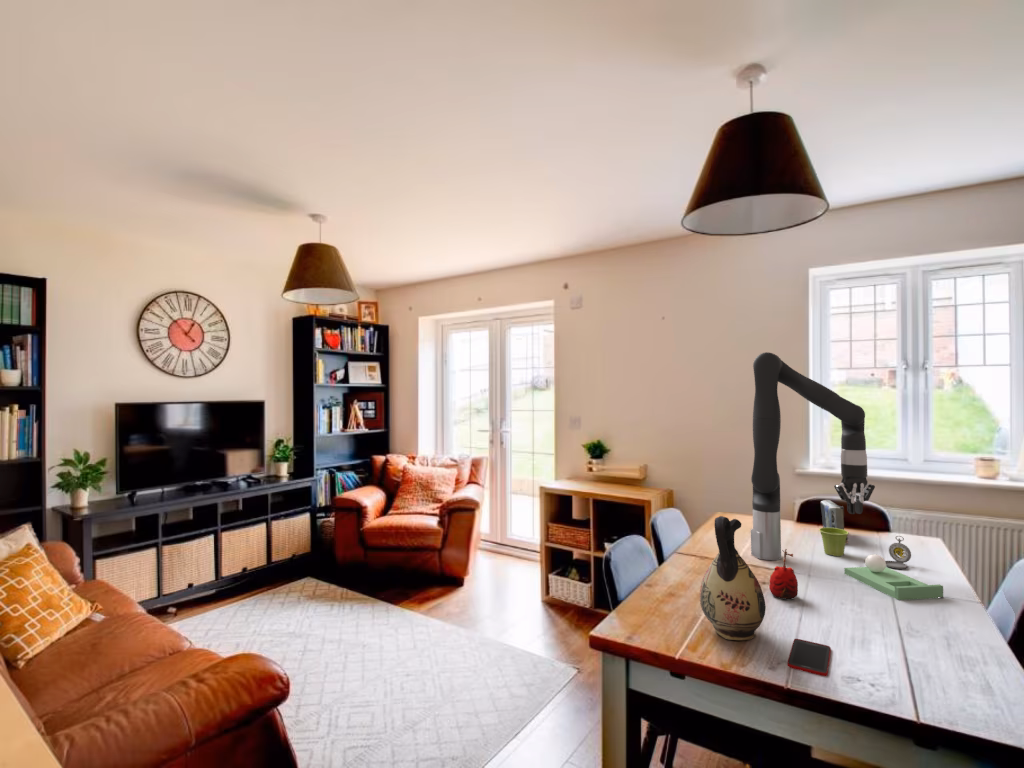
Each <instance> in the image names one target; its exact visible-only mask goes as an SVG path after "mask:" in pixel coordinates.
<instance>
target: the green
mask: <svg viewBox="0 0 1024 768" xmlns="http://www.w3.org/2000/svg"><path fill="white" fill-rule="evenodd" d="M843 574H844V575H845V576H849V577H850V578H852V579H854V580H857V581H859V582H861V583H863V584H864V585H866V586H869V587H871V588H873V589H875V590H877V591H879V592H881V593H883V594H885V595H887V596H889V597H891V598H893V599H896V600H898V601H901V600H902V601H906V600H907V601H909V600H910V601H911V600H926V599H927V600H930V599H929V598H932V599H939V598H938V597H943V598H944V585H942V584H928V583H925V582H923V581H920V580H919V579H916V578H914V577H911V576H908V575H906V574H904V573H901V572H899V571H896V570H894V569H893V568H891V567H888V566H886V568H885V570H884V571H882V572H879V573H876V572H872V571H871V570H869V569H868V568H867V566H856V567H854V566H852V567H844V573H843Z"/></svg>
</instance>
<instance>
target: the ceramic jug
mask: <svg viewBox="0 0 1024 768" xmlns="http://www.w3.org/2000/svg"><path fill="white" fill-rule="evenodd" d="M741 527H742V522H741V521H740V520H739V519H736V518H733V519H731V520H730V519H729V518H728V517H725V516H723V515H722V516H721V515H720V516H718V517H715V519H714V535H715V539H716V544H717V548H718V552H717V554H716V556H715V557H714V558H713V560H712V561H711V563H710V565H708V566H709V567H708V568H707V570H706V571H705V573H704V575H703V578H702V580H701V584H700V588H699V589H700V590H699V602H700V603H699V605H700V606H701V611H702V613H703V615H705V618H706V619H707V620H708V621H709V622H710V623H711V625H712V626H713V629H714V630H715V633H716V634H717V635H719V637H721V638H723V639H725V640H729V641H730V640H731V641H750V640H753V639H754V637H755V636H756V634H755V631H756V630H757V629H759V627H760V626H761V625H762V623H763V621H764V618H765V615H766V607H767V606H766V601H765V597H764V596H765V595H764V592H763V590H762V587H761V585H760V582H759V581H758V578H757V577H756V575H755V573H754V572H753V571H752V569H751V568H750V566H749V565H748V564H747V563H746V561H745V560H744V558H743V557H742V556H741V555H740V554H739V551H738V550H737V549H736V547H735V533H736V531H737V530H739V529H740V528H741ZM728 649H729V648H728Z"/></svg>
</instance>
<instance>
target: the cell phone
mask: <svg viewBox="0 0 1024 768" xmlns="http://www.w3.org/2000/svg"><path fill="white" fill-rule="evenodd" d="M831 651H832V648H831V647H830V646H829V645H826V644H823V643H819V642H818V643H817V642H813V641H809V640H804V639H799V638H794V640H793V642H792V646H791V649H790V652H789V656H788V659H787V667H788V668H790V669H793V670H797V671H802V672H805V673H809V674H813V675H816V676H821V677H827V676H828V673H829V667H830V661H831V660H830V659H831Z"/></svg>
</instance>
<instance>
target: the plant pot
mask: <svg viewBox="0 0 1024 768" xmlns="http://www.w3.org/2000/svg"><path fill="white" fill-rule="evenodd" d="M818 531H819V532H820V535H821V540H822V544H823V551H824V554H826V555H827V556H833V557H842V556H844V555H845V554H844V553H845V549H846V543H845V542H846V538H847V535H849V531H847V530H846V529H844V530H843V529H838V528H823V527H820V528H819V530H818Z"/></svg>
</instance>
